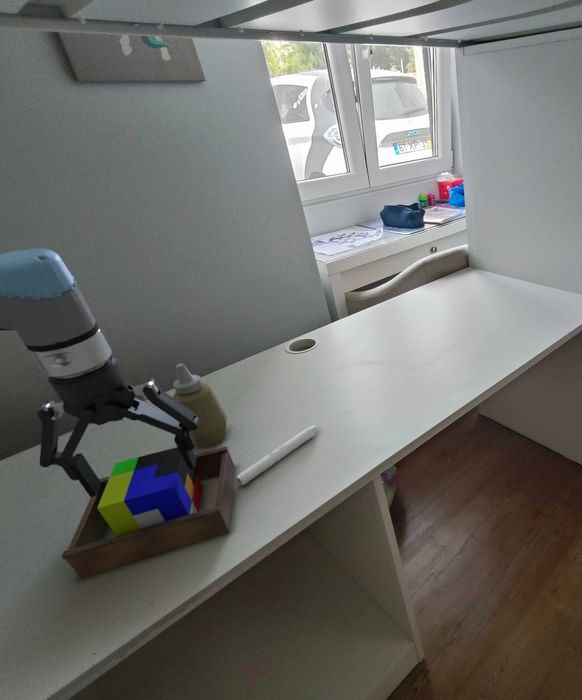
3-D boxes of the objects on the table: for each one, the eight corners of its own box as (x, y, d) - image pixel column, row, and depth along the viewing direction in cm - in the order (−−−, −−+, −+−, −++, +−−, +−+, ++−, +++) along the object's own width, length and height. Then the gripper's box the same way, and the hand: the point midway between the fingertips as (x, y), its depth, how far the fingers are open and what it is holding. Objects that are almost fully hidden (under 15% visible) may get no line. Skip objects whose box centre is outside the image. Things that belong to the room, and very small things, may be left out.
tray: (79, 579, 66) (61, 556, 64) (109, 501, 79) (95, 479, 76) (230, 532, 72) (219, 510, 70) (236, 467, 85) (227, 445, 82)
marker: (316, 428, 94) (314, 419, 93) (322, 431, 93) (320, 423, 92) (237, 482, 82) (233, 473, 80) (244, 487, 81) (240, 478, 79)
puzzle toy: (196, 529, 73) (173, 487, 68) (126, 550, 70) (97, 508, 65) (203, 486, 81) (183, 445, 76) (140, 504, 78) (115, 462, 73)
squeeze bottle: (180, 447, 91) (144, 374, 81) (208, 422, 97) (178, 352, 88) (213, 453, 89) (180, 379, 80) (240, 427, 95) (212, 356, 86)
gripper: (-53, 404, 53) (42, 521, 64) (179, 357, 61) (228, 469, 71) (-20, 373, 59) (61, 484, 70) (187, 333, 67) (232, 440, 78)
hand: (146, 476), depth 71 cm, fingers open, 13 cm apart
